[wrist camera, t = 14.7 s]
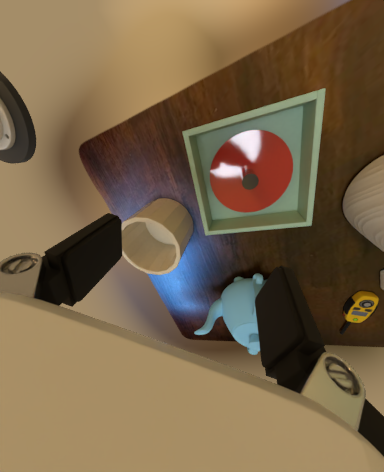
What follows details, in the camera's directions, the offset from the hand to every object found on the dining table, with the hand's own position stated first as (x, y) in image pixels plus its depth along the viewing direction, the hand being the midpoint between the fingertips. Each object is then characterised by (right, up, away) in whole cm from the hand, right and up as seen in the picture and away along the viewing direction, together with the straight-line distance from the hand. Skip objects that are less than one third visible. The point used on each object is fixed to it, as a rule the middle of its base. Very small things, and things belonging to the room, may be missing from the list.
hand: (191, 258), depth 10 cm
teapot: (+16, -13, +35) cm, 40 cm away
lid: (+10, +12, +19) cm, 25 cm away
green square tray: (+10, +13, +20) cm, 26 cm away
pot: (-6, +4, +30) cm, 31 cm away
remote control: (+38, -17, +30) cm, 52 cm away
